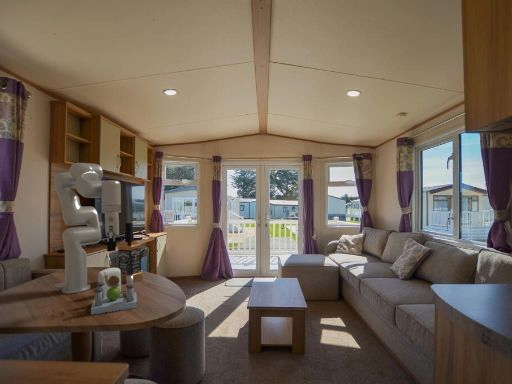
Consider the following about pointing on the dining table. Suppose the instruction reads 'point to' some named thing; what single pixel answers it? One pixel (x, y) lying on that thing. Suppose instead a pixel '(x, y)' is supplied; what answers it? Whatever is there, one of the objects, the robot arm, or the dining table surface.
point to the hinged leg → (129, 279)
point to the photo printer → (110, 273)
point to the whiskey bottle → (129, 256)
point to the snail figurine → (112, 287)
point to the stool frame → (107, 305)
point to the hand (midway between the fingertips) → (111, 249)
